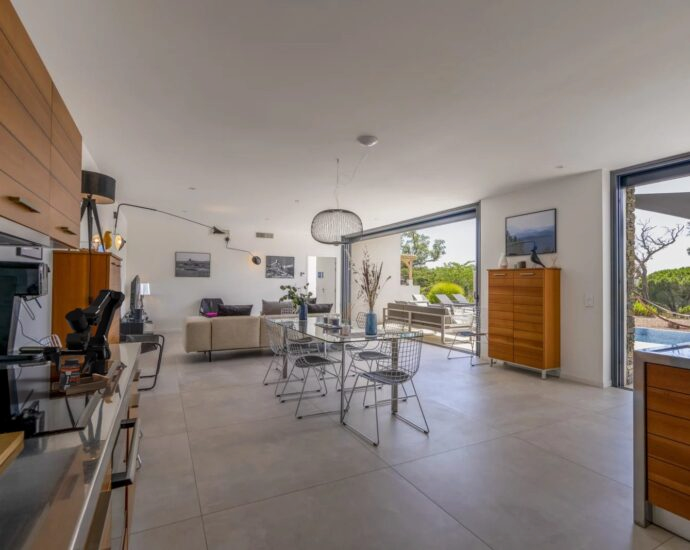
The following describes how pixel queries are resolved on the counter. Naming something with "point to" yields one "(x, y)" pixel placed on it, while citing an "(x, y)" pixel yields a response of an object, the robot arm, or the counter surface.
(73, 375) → the supplement bottle
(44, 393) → the counter surface
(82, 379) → the comb channel
